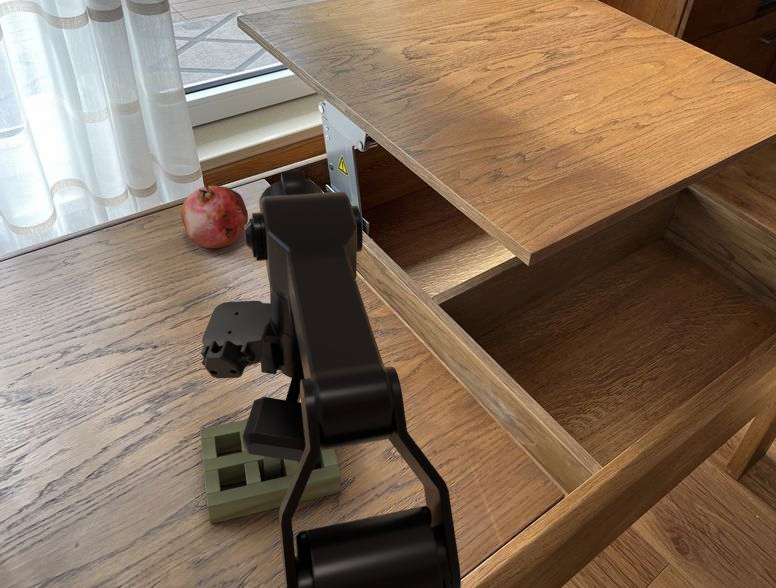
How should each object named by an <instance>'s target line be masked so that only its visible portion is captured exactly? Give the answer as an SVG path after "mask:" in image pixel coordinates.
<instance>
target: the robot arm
mask: <svg viewBox="0 0 776 588" xmlns="http://www.w3.org/2000/svg"><path fill="white" fill-rule="evenodd" d="M258 204H259V205H258V206H259V212H252V213H251V218H248V222H247V224H246V225H244V230H243V232H244V241H245V246H246V248H248V249H250V251H252V258H254V259H255V261H256V262H263V261H265V265H266V266H265V267H266V273H267V277H268V278H267V279H268V283H269V301H270V303H269V302H262V301H261V300H240V301H239V300H238V301H225V302H221V303H220V304H218V305H217V306H216V307H214V309H213V311H212V313H211V316H210V318H209V320H208V323H207V326H206V327H205V331H204V333H203V336H202V340H201V343H202V344H203V347H202V349H201V352H200V354H201V356H202V358H203V359H202V361H201V364H202V366H204V368H205V370H206V371H207V372H208V374H209V375H210V376H211V377H213V378H216V379H239V378H241V377H242V376H243V374H244V372H245V369H246V368H247V367H251V366H252V365H257V364H260V371H261V373H263V374H269V375H277V373H278V371H281V373H282V374H283V375H284V376H286V377H288V378H290V383H289V386H288V389H287V394H286V397H285V399H281V398H274V397H267V396H263V397H260V398H257V399H254V400H253V403H252V406H251V409H250V411H249V412H250V413H249V415H248V418H247V419H248V421H247V424H246V427H245V431H244V434H243V444H244V448H245V449H246V451H247V452H248V454H253V455H259V456H266V457H272V458H279V459H285V460H292V461H299V464H298V467H297V469H296V471H295V474H294V476H293V478H292V481H291V483H290V485H289V488H288V490H287V492H286V495H285V497H284V499H283V502H282V504H281V506H280V507H279V512H278V523H279V534H280V542H281V543H280V545H281V554H282V555H281V556H282V564H283V565H282V566H283V576H284V587H285V588H462V576H461V566H460V565H461V564H460V559H459V552H458V544H457V538H456V530H455V525H454V517H453V510H452V504H451V496H450V491H449V487H448V485H447V482H446V481H445V480H444V479H443V477H442V476H441V475H440V473H439V472H438V470H437V469H436V468H435V466H434V465H433V464H432V463H431V461H430V460H429V459H428V457H427V456H426V454H425V453H424V452H423V450H422V449H421V448H420V447H419V445H418V444H417V443H416V442H415V439H413V438H412V436H411V435H410V433H409V431H408V427H407V426H408V425H407V418H406V413H405V404H404V397H403V392H402V386H401V381H400V378H399V374H398V372H397V369H396V368H395V367H394V366H385V364H384V362H383V359H382V356H381V352H380V349H379V346H378V343H377V341H376V337H375V333H374V331H373V327H372V325H371V322H370V318H369V316H368V312H367V310H366V306H365V303H364V300H363V298H362V294H361V291H360V288H359V286H358V282H357V278H358V277H357V276H358V275H357V272H358V271H357V269H358V268H357V266H358V265H357V262H358V259H357V258H358V255H357V254H358V253H360V252H361V253H362V250H363V244H364V233H363V224H362V223H363V222H362V217H361V216H362V215H361V212H360V208H359V206H358V205H352V203H351V199H350V197H349V194H348V193H346V192H345V191H331V192H324V191H323V189H322V188H321V187H320V186H319V185H318V184H316V183H315V182H313V181H311V180H308V179H306V175H305V171H304V170H287V171H281V172H280V180H278V181H276V182H274V183H272V184H270V185H269V186H268V187H267V188H265V189H264V190H263V192H262V193H261V195H260V197H259V200H258ZM386 440H388V441H389V442H390V443H391V445H392V446H393V447H394V449H395V450H396V451H397V452H398V454H399V455H400V457H401V458H402V460H404V462H405V463H406V464H407V466H408V467H409V468H410V469H411V471H412V473H413V474H414V475H415V476H416V478H417V479H418V480H419V481H420V483H421V484H422V486H423V490H424V498H425V505H421V506H417V507H413V508H407V509H402V510H398V511H393V512H388V513H383V514H378V515H374V516H369V517H364V518H359V519H354V520H353V519H352V520H350V521H344V522H339V523H333V524H329V525H326V526H320V527H315V528H310V529H306V530H301V531H299V532H298V533H297V534H296V535H295V539H294V529H293V518H294V516H295V513H296V510H297V508H298V506H299V504H300V502H299V501H300V499H301V496H302V494H303V492H304V489H305V487H306V484H307V482H308V480H309V477H310V475H311V472H312V470H314V467H315V466H316V465H315V463H316V460H317V458H318V456H319V452H320V450H322V451H324V450H329V449H340V448H345V447H346V448H347V447H352V446H358V445H364V444H369V443H376V442H380V441H386Z"/></svg>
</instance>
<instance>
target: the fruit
mask: <svg viewBox="0 0 776 588" xmlns="http://www.w3.org/2000/svg"><path fill="white" fill-rule="evenodd" d="M180 217H181V221H182V224H183V227H184V229H185V232H186V234H187V236H188V237H189V239H190V240H191V241H192V242H193V243H194V244H195V245H197V246H198V247H199V246H200V247H202V248H208V249H220V248H225V247H228V246H230V245H232V244H234V243H235V242H236V241H238V239H239V238H240V237H241V235H242V233H243V232H244V225H246V224H247V223H248V222H249V211H248V210H247V206H246V204H245V201H244V198H243V197H242V194H240V193H239V192H238V191H236V190H233V189H232V188H230V187H228V186H221V185H207V184H205V183H204V185H203V186H201V187H200V188H197V189H195V190H194V191H193V192H191V193H190V194H189V195H188V196H187V197H186V198H185V200H184V202H183V204H182V206H181V209H180Z"/></svg>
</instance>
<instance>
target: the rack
mask: <svg viewBox="0 0 776 588" xmlns="http://www.w3.org/2000/svg"><path fill="white" fill-rule="evenodd" d="M247 421H248V418H247V419H246V418H245V419H243V420H237V421H231V422H227V423H222V424H217V425H211V426H206V427H201V428H199V434H200V435H199V437H200V446H201V447H200V448H201V456H202V465H203V466H202V467H203V468H202V469H203V477H204V489H205V497H206V499H205V500H206V508H207V513H208V520H209V524H210V525H213V524H216V523H217V524H218V523H221V522H225V521H229V520H233V519H237V518H242V517H246V516H249V515H253V514H257V513H262V512H265V511H271V510H275V509H280V506H281V504H282V502H283V499H284V497H285V495H286V492H287V490H288V488H289V485H290V483H291V481H292V478H293V476H294V474H295V471H296V469H297V467H298V464H299V461H292V460H285V459H280V466H281V474H282V473H283V475H284V476H281V478H277V479H273V480H268V481H265V480H264V481H262V478H263V477H264V478H265V474H264V461H263V456H259V455H253V454H248V452H247V451H246V449H245V448H244V444H243V434H244V431H245V427H246V424H247ZM335 449H336V448H335ZM335 449H329V450H324V451H322V450H320V452H319V456H318V458H317V460H316V463H315V465H314V466H316V465H320V468H317V469H313V470H312V472H311V475H310V477H309V480H308V482H307V484H306V487H305V489H304V492H303V494H302V496H301V499H300V501H299V503H302V502H307V501H311V500H315V499H319V498H324V497H328V496H332V495H335V494H339V493H341V481H342V480H341V479H342V474H341V469H340V467H339V460H338V457H337V453H336V450H335ZM239 450H241V452H236V453H231V454H226V455H223V456H218V455H221V454H225V453H230V452H234V451H239ZM241 482H245V483H246V484H245V485H243V486H239V487H234V488H229V489H225V490H222V487H225V486H227V485H228V486H229V485H233V484H237V483H241Z"/></svg>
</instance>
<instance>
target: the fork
mask: <svg viewBox="0 0 776 588" xmlns="http://www.w3.org/2000/svg"><path fill="white" fill-rule="evenodd" d="M263 461H264V474H265V476H264V481H268V480H273V479H277V478H281V477H282V473H281V466H280V459H279V458H272V457H266V456H263Z"/></svg>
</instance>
